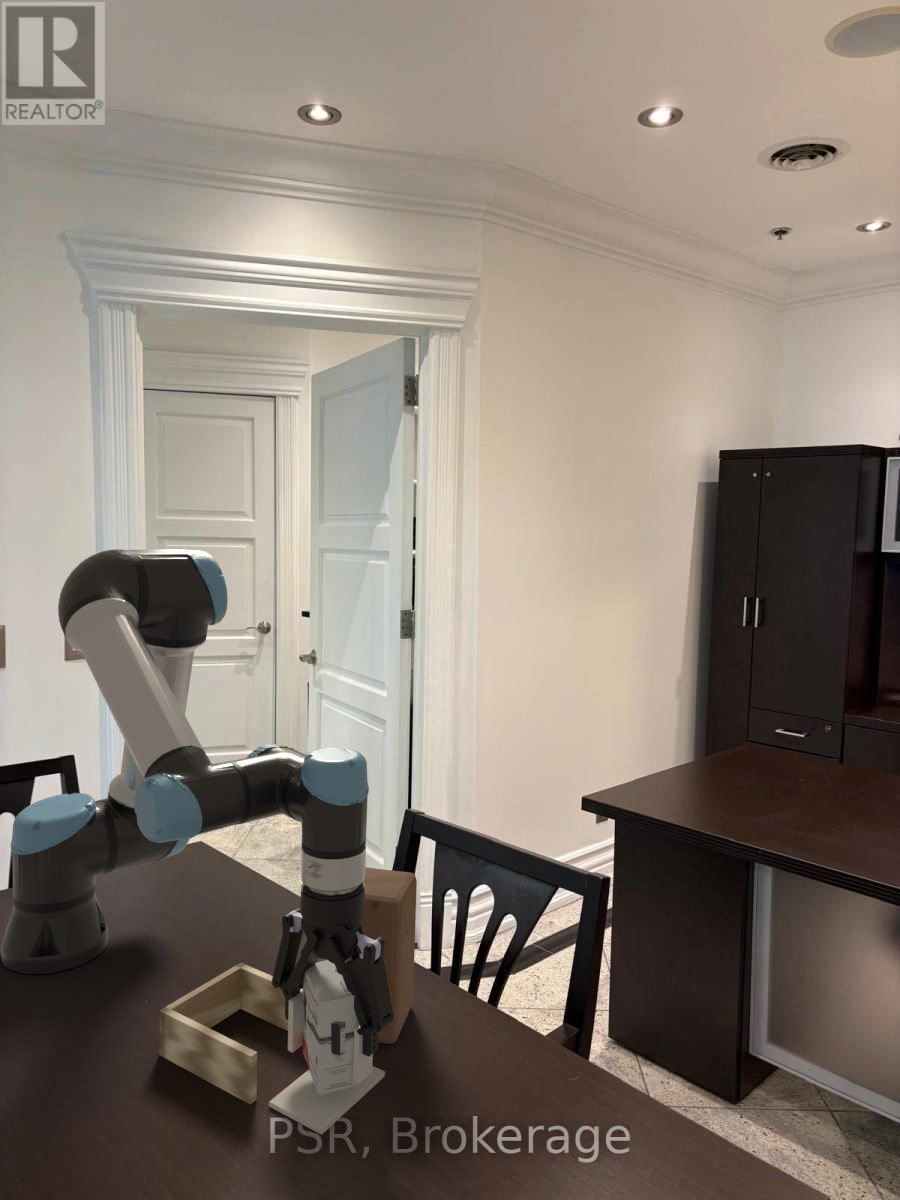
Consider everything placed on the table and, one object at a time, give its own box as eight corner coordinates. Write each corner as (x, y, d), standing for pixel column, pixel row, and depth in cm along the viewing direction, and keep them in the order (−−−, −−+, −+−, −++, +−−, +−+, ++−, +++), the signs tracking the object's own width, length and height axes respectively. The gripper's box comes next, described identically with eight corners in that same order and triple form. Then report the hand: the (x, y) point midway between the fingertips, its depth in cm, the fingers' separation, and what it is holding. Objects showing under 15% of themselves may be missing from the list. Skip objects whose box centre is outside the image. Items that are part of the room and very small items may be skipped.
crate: (159, 1055, 107) (159, 1010, 106) (240, 1002, 119) (240, 962, 118) (250, 1104, 98) (251, 1056, 98) (327, 1043, 110) (328, 1000, 110)
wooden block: (395, 1048, 110) (400, 902, 108) (323, 1036, 112) (326, 892, 110) (414, 1005, 120) (418, 870, 118) (347, 995, 122) (350, 862, 120)
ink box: (300, 1052, 104) (302, 961, 103) (339, 1044, 106) (341, 955, 105) (317, 1097, 96) (319, 999, 95) (358, 1087, 98) (361, 991, 97)
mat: (269, 1106, 98) (269, 1101, 98) (334, 1052, 108) (334, 1048, 108) (321, 1134, 94) (321, 1129, 94) (384, 1076, 104) (384, 1071, 104)
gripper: (242, 869, 101) (240, 1044, 103) (390, 920, 90) (385, 1116, 92) (285, 849, 108) (282, 1014, 110) (429, 895, 96) (422, 1078, 98)
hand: (329, 1060), depth 101 cm, fingers closed on ink box, 9 cm apart
